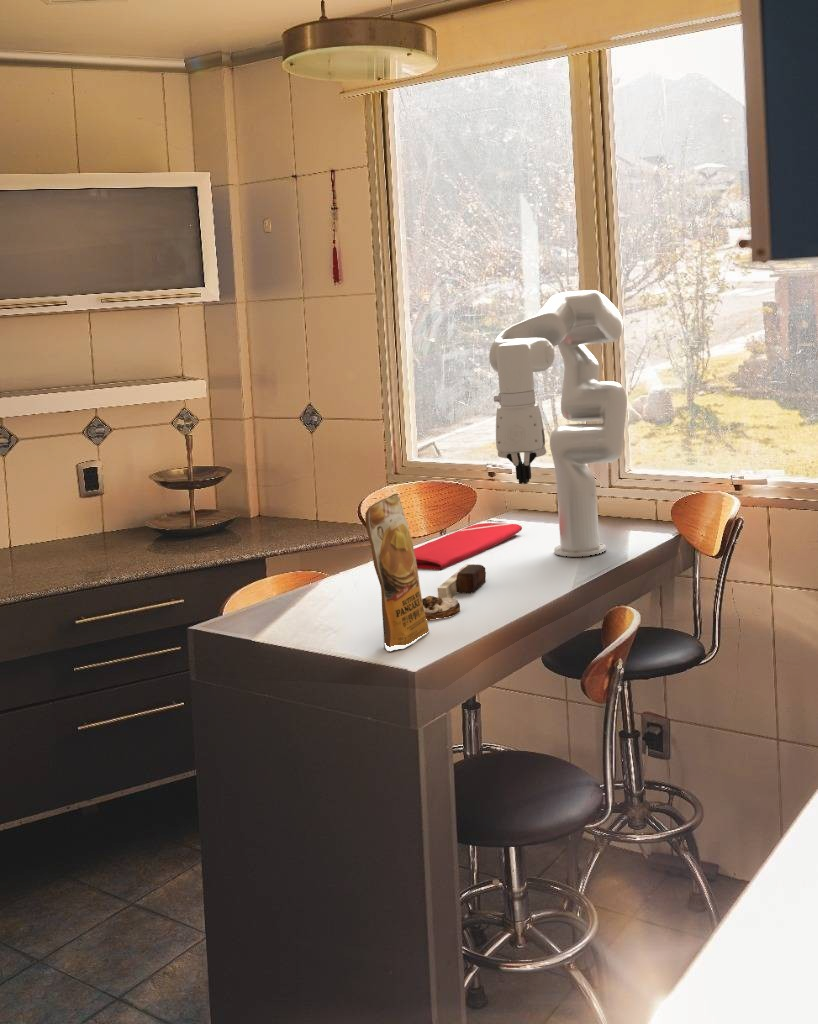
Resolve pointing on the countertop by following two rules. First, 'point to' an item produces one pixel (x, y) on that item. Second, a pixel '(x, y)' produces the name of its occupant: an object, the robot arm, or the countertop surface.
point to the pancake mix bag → (396, 572)
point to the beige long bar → (449, 586)
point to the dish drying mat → (463, 544)
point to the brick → (471, 578)
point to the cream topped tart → (440, 607)
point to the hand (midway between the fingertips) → (524, 482)
